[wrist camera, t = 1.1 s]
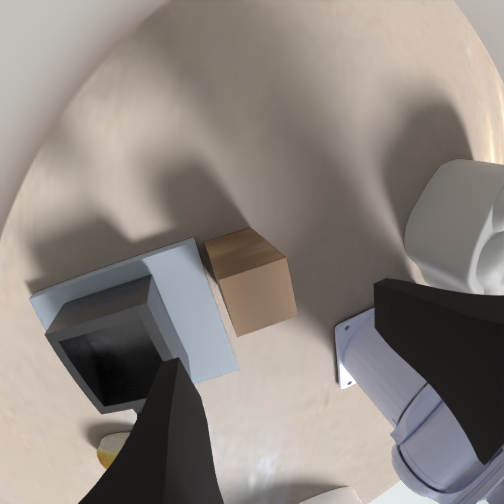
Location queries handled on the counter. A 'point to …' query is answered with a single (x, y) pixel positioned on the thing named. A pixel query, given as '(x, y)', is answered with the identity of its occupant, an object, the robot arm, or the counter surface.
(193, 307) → the mounting board
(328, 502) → the canister
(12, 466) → the counter surface
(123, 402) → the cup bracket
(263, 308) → the brown rectangular block
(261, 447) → the counter surface
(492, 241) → the lumpy-topped squat cylinder
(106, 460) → the bread roll
